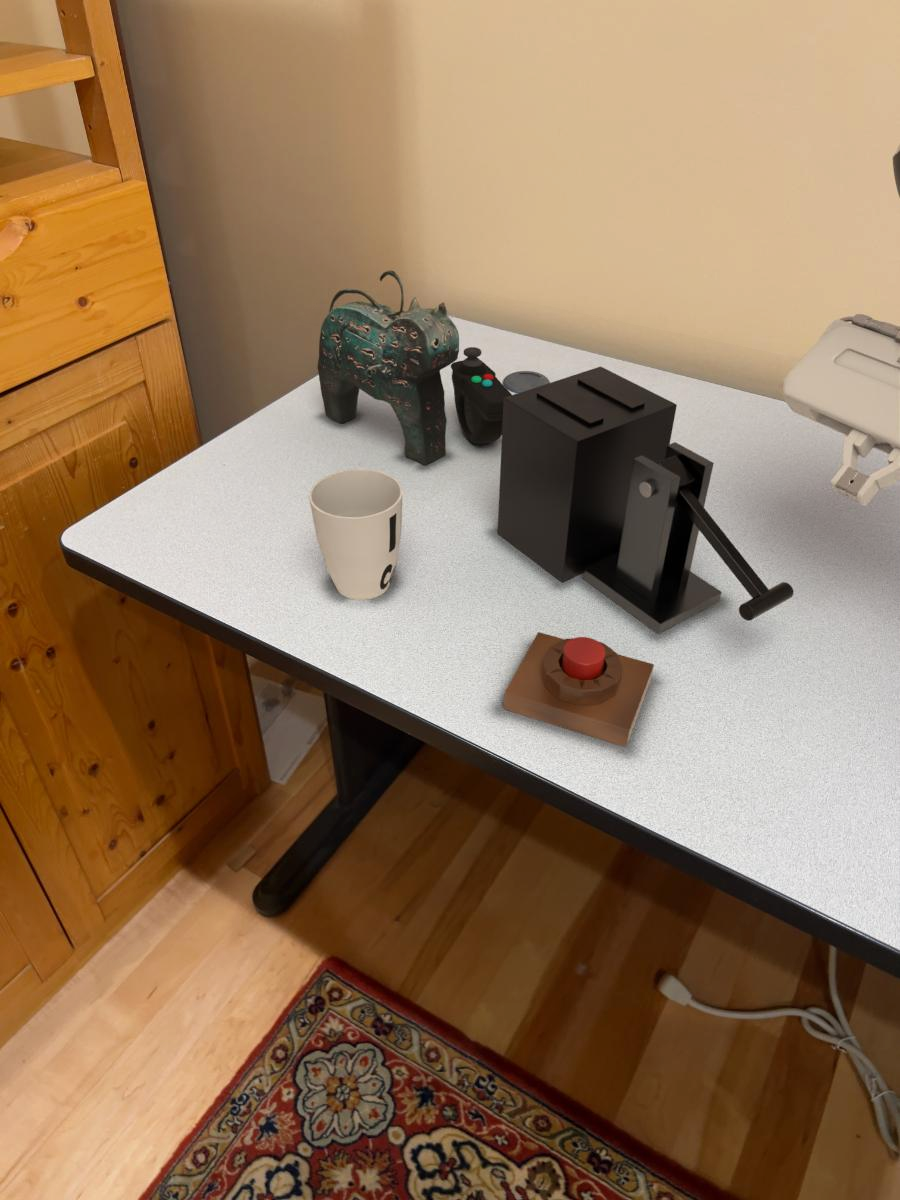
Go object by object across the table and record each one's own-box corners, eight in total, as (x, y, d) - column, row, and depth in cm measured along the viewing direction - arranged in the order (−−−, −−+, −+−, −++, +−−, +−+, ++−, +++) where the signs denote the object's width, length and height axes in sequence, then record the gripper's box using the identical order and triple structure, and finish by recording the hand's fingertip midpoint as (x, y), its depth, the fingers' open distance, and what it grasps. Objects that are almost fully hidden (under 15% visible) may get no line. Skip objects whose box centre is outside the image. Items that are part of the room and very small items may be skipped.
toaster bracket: (719, 602, 81) (752, 471, 72) (658, 634, 78) (685, 501, 69) (641, 550, 87) (663, 424, 79) (581, 578, 84) (597, 449, 75)
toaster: (652, 541, 89) (677, 401, 79) (562, 583, 83) (577, 438, 74) (585, 497, 95) (601, 363, 85) (497, 533, 90) (503, 394, 80)
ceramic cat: (462, 457, 102) (465, 283, 89) (423, 478, 98) (420, 300, 85) (348, 403, 112) (336, 240, 100) (308, 420, 108) (291, 253, 96)
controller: (478, 416, 110) (480, 338, 103) (519, 463, 101) (525, 381, 94) (445, 422, 108) (446, 343, 102) (485, 470, 99) (488, 387, 93)
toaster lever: (783, 604, 73) (800, 589, 71) (743, 626, 71) (759, 612, 69) (674, 466, 78) (687, 449, 76) (633, 483, 75) (645, 466, 73)
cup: (402, 611, 80) (399, 519, 74) (313, 610, 80) (302, 517, 74) (408, 558, 86) (405, 469, 80) (325, 557, 86) (315, 468, 80)
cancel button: (607, 659, 70) (610, 643, 69) (596, 685, 68) (598, 668, 67) (569, 648, 71) (571, 632, 70) (556, 673, 69) (558, 657, 68)
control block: (650, 680, 73) (657, 649, 71) (626, 747, 67) (632, 715, 65) (536, 648, 76) (539, 617, 74) (503, 709, 70) (505, 677, 68)
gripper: (834, 286, 72) (730, 427, 74) (1095, 372, 59) (962, 540, 61) (851, 327, 77) (754, 458, 79) (1096, 415, 64) (973, 570, 66)
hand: (847, 495), depth 70 cm, fingers closed
